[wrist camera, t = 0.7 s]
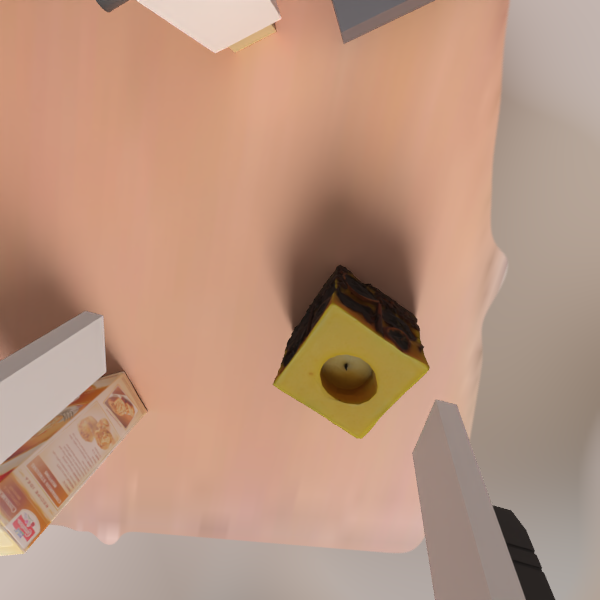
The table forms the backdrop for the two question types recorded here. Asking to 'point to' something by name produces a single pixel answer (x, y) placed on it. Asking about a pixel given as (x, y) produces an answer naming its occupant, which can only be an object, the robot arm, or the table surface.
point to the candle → (352, 354)
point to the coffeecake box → (63, 459)
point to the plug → (215, 19)
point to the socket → (370, 14)
